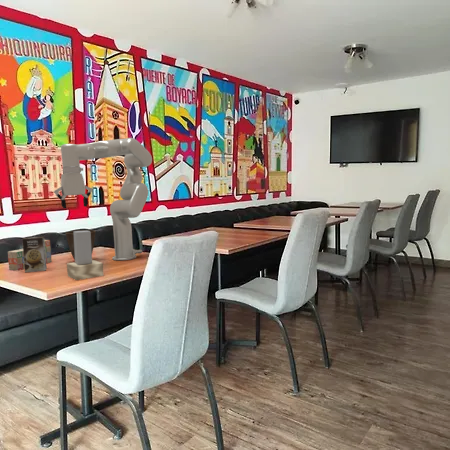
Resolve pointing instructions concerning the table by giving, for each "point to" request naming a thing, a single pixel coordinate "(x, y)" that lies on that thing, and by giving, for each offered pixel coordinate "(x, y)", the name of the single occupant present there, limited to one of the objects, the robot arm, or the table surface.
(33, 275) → the table surface
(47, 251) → the stack of blocks
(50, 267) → the table surface
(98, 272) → the beige metal block
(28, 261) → the coffee box
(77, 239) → the grey block
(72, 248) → the plant pot
